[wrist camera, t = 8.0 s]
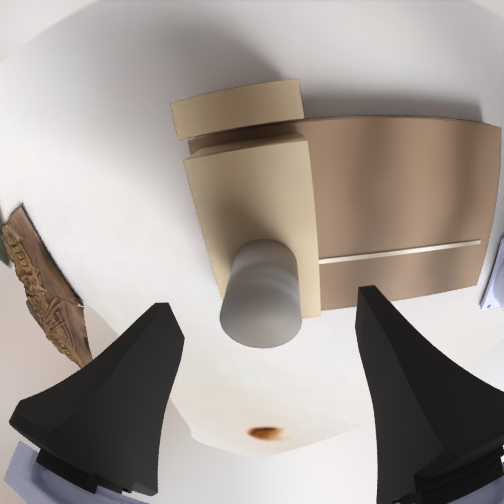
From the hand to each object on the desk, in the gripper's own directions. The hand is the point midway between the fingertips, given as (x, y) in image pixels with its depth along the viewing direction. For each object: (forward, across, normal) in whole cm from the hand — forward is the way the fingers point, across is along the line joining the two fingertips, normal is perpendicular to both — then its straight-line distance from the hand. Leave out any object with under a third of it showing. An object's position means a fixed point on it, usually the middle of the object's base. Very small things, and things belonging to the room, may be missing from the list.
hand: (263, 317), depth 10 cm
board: (+8, -6, 0) cm, 10 cm away
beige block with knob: (+8, 0, -2) cm, 8 cm away
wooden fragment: (+9, +25, +7) cm, 27 cm away
